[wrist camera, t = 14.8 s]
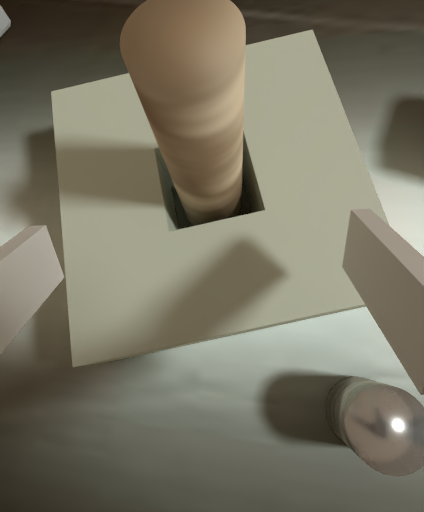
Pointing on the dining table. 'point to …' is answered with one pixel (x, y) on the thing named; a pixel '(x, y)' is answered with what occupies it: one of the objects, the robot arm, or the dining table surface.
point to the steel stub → (378, 424)
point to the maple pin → (193, 97)
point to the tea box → (3, 22)
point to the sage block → (214, 233)
